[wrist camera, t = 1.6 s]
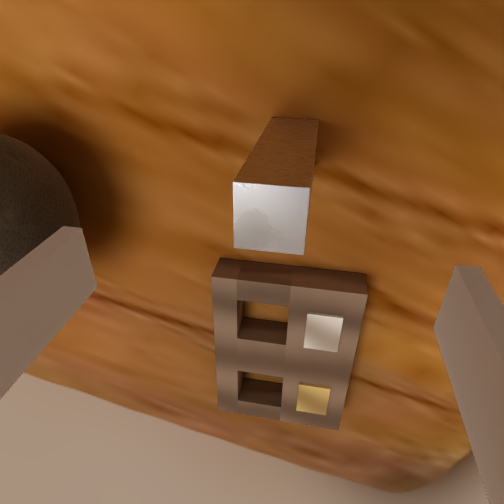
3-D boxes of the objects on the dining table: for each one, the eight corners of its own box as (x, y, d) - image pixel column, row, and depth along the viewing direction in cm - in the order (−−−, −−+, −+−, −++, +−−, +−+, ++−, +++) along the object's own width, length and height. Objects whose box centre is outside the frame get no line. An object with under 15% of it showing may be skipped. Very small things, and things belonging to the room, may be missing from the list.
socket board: (219, 257, 35) (210, 278, 32) (365, 273, 33) (368, 297, 30) (224, 387, 45) (217, 412, 42) (338, 405, 43) (338, 432, 40)
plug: (271, 117, 28) (232, 181, 17) (319, 119, 27) (310, 188, 16) (270, 162, 30) (234, 247, 19) (314, 165, 29) (303, 255, 18)
